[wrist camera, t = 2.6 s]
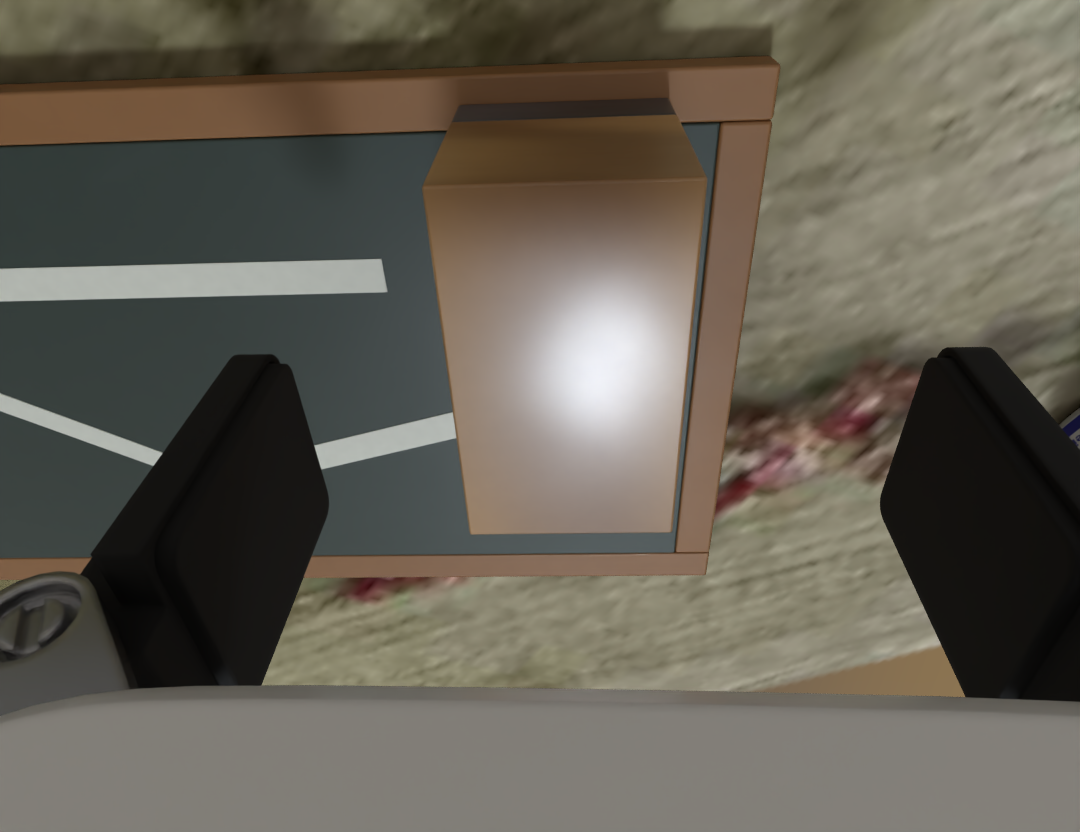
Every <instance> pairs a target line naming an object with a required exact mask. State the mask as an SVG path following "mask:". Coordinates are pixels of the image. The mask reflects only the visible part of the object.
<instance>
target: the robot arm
mask: <svg viewBox="0 0 1080 832" xmlns="http://www.w3.org/2000/svg"><path fill="white" fill-rule="evenodd" d="M328 510H329V495H328V491H327V487H326V484H325V480H324V477H323V474H322V470H321V467H320V463H319V460H318V457H317V453H316V450H315V446H314V443H313V440H312V436H311V433H310V429H309V426H308V423H307V419H306V416H305V412H304V409H303V406H302V402H301V399H300V395H299V392H298V389H297V385H296V382H295V378H294V375H293V372H292V369H291V368H290V366H289V365H288V364H280V361H279V360H278V358H277V357H276V356H275V355H273V354H239V355H234V356H232V357H231V358H230V360H229V361H228V362H227V364H226V365H225V367H224V368H223V369H222V371H221V372H220V374H219V375H218V376H217V378H216V379H215V381H214V382H213V383H212V385H211V386H210V388H209V389H208V390H207V392H206V393H205V395H204V396H203V397H202V399H201V400H200V402H199V403H198V404H197V406H196V407H195V409H194V410H193V411H192V413H191V414H190V416H189V417H188V418H187V420H186V421H185V423H184V424H183V425H182V427H181V428H180V430H179V431H178V432H177V434H176V435H175V437H174V438H173V439H172V441H171V442H170V444H169V445H168V446H167V448H166V449H165V451H164V452H163V453H162V455H161V456H160V458H159V459H158V460H157V462H156V463H155V465H154V466H153V467H152V469H151V470H150V472H149V473H148V474H147V476H146V477H145V478H144V480H143V481H142V483H141V484H140V485H139V487H138V488H137V490H136V491H135V492H134V494H133V495H132V497H131V498H130V499H129V501H128V502H127V504H126V505H125V506H124V508H123V509H122V511H121V512H120V513H119V515H118V516H117V518H116V519H115V520H114V522H113V523H112V525H111V526H110V527H109V529H108V530H107V532H106V533H105V534H104V536H103V537H102V539H101V540H100V541H99V543H98V544H97V546H96V547H95V548H94V550H93V551H92V553H91V554H90V555H91V556H92V558H91V560H90V561H89V562H88V564H87V565H86V567H85V568H84V569H83V571H82V572H81V574H78V573H75V572H65V571H55V572H49V573H43V574H38V575H35V576H32V577H29V578H26V579H23V580H21V581H18V582H16V583H14V584H12V585H10V586H8V587H7V588H5V589H3V590H1V591H0V832H1080V449H1079V448H1078V447H1077V446H1076V444H1075V443H1074V442H1073V441H1072V440H1071V439H1070V438H1069V436H1068V435H1067V434H1066V433H1065V432H1064V431H1063V429H1062V428H1061V427H1060V426H1059V425H1058V424H1057V422H1056V421H1055V420H1054V419H1053V418H1052V417H1051V415H1050V414H1049V413H1048V412H1047V411H1046V410H1045V408H1044V407H1043V406H1042V405H1041V404H1040V403H1039V401H1038V400H1037V399H1036V398H1035V397H1034V396H1033V395H1032V393H1031V392H1030V391H1029V390H1028V389H1027V388H1026V386H1025V385H1024V384H1023V383H1022V382H1021V381H1020V379H1019V378H1018V377H1017V376H1016V375H1015V374H1014V372H1013V371H1012V370H1011V369H1010V368H1009V367H1008V365H1007V364H1006V363H1005V362H1004V361H1003V360H1002V358H1001V357H1000V356H999V355H998V354H997V353H996V352H995V351H994V350H993V349H992V348H988V347H952V348H945V349H943V350H942V351H941V352H940V353H939V354H938V357H937V358H930V359H928V361H927V362H926V363H925V365H924V368H923V371H922V374H921V377H920V380H919V383H918V386H917V389H916V392H915V395H914V398H913V401H912V404H911V406H910V409H909V412H908V415H907V418H906V421H905V424H904V427H903V430H902V433H901V436H900V439H899V442H898V445H897V448H896V451H895V454H894V457H893V460H892V463H891V466H890V469H889V472H888V475H887V478H886V481H885V484H884V487H883V490H882V493H881V498H880V510H881V515H882V518H883V520H884V523H885V525H886V527H887V529H888V531H889V533H890V535H891V538H892V540H893V542H894V544H895V546H896V548H897V550H898V553H899V555H900V557H901V559H902V561H903V563H904V566H905V568H906V570H907V572H908V574H909V576H910V578H911V581H912V583H913V585H914V587H915V589H916V591H917V593H918V596H919V598H920V600H921V602H922V604H923V606H924V609H925V611H926V613H927V615H928V617H929V619H930V621H931V624H932V626H933V628H934V630H935V632H936V634H937V636H938V639H939V641H940V643H941V645H942V647H943V649H944V651H945V654H946V656H947V658H948V660H949V662H950V664H951V666H952V669H953V671H954V673H955V675H956V677H957V679H958V681H959V683H960V686H961V688H962V690H963V692H964V694H965V697H941V696H898V695H854V694H811V693H810V694H809V693H767V692H720V691H666V690H611V689H551V688H488V687H407V686H327V685H280V686H261V685H262V682H263V680H264V677H265V675H266V672H267V669H268V667H269V664H270V662H271V659H272V657H273V654H274V652H275V649H276V646H277V644H278V641H279V639H280V636H281V634H282V631H283V628H284V626H285V623H286V621H287V618H288V616H289V613H290V611H291V608H292V605H293V603H294V600H295V598H296V595H297V593H298V590H299V587H300V585H301V582H302V580H303V577H304V575H305V572H306V570H307V567H308V564H309V562H310V559H311V557H312V554H313V552H314V549H315V547H316V544H317V541H318V539H319V536H320V534H321V531H322V529H323V526H324V523H325V521H326V518H327V515H328Z"/></svg>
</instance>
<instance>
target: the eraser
mask: <svg viewBox="0 0 1080 832" xmlns="http://www.w3.org/2000/svg"><path fill="white" fill-rule="evenodd" d="M706 189H707V177H706V175H705V173H704V171H703V168H702V166H701V164H700V162H699V160H698V158H697V156H696V154H695V152H694V149H693V147H692V145H691V143H690V141H689V139H688V137H687V135H686V133H685V131H684V128H683V126H682V124H681V122H680V120H679V118H678V116H677V115H676V113H675V110H674V108H673V106H672V104H671V102H670V100H669V99H668V98H645V99H617V100H589V101H560V102H532V103H503V104H475V105H460V106H459V107H458V109H457V111H456V113H455V115H454V118H453V120H452V122H451V123H450V126H449V128H448V130H447V132H446V135H445V137H444V139H443V141H442V143H441V146H440V148H439V150H438V152H437V155H436V157H435V159H434V161H433V163H432V166H431V168H430V170H429V172H428V175H427V177H426V179H425V181H424V183H423V186H422V194H423V201H424V208H425V215H426V222H427V230H428V237H429V244H430V251H431V258H432V266H433V273H434V280H435V287H436V295H437V302H438V309H439V316H440V323H441V331H442V338H443V345H444V352H445V360H446V367H447V374H448V381H449V388H450V396H451V403H452V410H453V417H454V424H455V432H456V439H457V446H458V453H459V461H460V468H461V475H462V482H463V489H464V497H465V504H466V511H467V518H468V526H469V532H470V534H472V535H474V534H583V533H670V532H672V529H673V519H674V509H675V499H676V489H677V479H678V469H679V459H680V449H681V439H682V429H683V419H684V409H685V399H686V389H687V379H688V369H689V359H690V349H691V339H692V329H693V319H694V309H695V299H696V289H697V279H698V269H699V259H700V249H701V239H702V229H703V219H704V209H705V199H706Z"/></svg>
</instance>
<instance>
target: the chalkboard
mask: <svg viewBox="0 0 1080 832" xmlns="http://www.w3.org/2000/svg"><path fill="white" fill-rule="evenodd" d="M779 73H780V64H779V63H778V62H777V61H775V60H774V59H773V58H772V57H770V56H750V57H723V58H697V59H670V60H643V61H616V62H590V63H563V64H536V65H509V66H483V67H456V68H429V69H403V70H376V71H349V72H322V73H296V74H269V75H242V76H215V77H189V78H162V79H135V80H109V81H82V82H55V83H28V84H2V85H0V580H23V579H26V578H29V577H32V576H35V575H38V574H43V573H49V572H55V571H65V572H75V573H78V574H81V572H82V571H83V569H84V568H85V567H86V565H87V564H88V562H89V561H90V560H91V558H92V556H91V555H90V554H91V553H92V551H93V550H94V548H95V547H96V546H97V544H98V543H99V541H100V540H101V539H102V537H103V536H104V534H105V533H106V532H107V530H108V529H109V527H110V526H111V525H112V523H113V522H114V520H115V519H116V518H117V516H118V515H119V513H120V512H121V511H122V509H123V508H124V506H125V505H126V504H127V502H128V501H129V499H130V498H131V497H132V495H133V494H134V492H135V491H136V490H137V488H138V487H139V485H140V484H141V483H142V481H143V480H144V478H145V477H146V476H147V474H148V473H149V472H150V470H151V469H152V467H153V466H154V465H155V463H156V462H157V460H158V459H159V458H160V456H161V455H162V453H163V452H164V451H165V449H166V448H167V446H168V445H169V444H170V442H171V441H172V439H173V438H174V437H175V435H176V434H177V432H178V431H179V430H180V428H181V427H182V425H183V424H184V423H185V421H186V420H187V418H188V417H189V416H190V414H191V413H192V411H193V410H194V409H195V407H196V406H197V404H198V403H199V402H200V400H201V399H202V397H203V396H204V395H205V393H206V392H207V390H208V389H209V388H210V386H211V385H212V383H213V382H214V381H215V379H216V378H217V376H218V375H219V374H220V372H221V371H222V369H223V368H224V367H225V365H226V364H227V362H228V361H229V360H230V358H231V357H232V356H234V355H239V354H273V355H275V356H276V357H277V358H278V360H279V361H280V364H288V365H289V366H290V368H291V369H292V372H293V375H294V378H295V382H296V385H297V389H298V392H299V395H300V399H301V402H302V406H303V409H304V412H305V416H306V419H307V423H308V426H309V429H310V433H311V436H312V440H313V443H314V446H315V450H316V453H317V457H318V460H319V463H320V467H321V470H322V474H323V477H324V480H325V484H326V487H327V491H328V495H329V510H328V515H327V518H326V521H325V523H324V526H323V529H322V531H321V534H320V536H319V539H318V541H317V544H316V547H315V549H314V552H313V554H312V557H311V559H310V562H309V564H308V567H307V570H306V572H305V575H304V577H303V578H341V577H491V576H641V575H705V574H706V570H707V563H708V556H709V549H710V542H711V535H712V528H713V522H714V515H715V508H716V501H717V494H718V488H719V481H720V474H721V467H722V460H723V454H724V447H725V440H726V433H727V426H728V420H729V413H730V406H731V399H732V392H733V386H734V379H735V372H736V365H737V358H738V352H739V345H740V338H741V331H742V324H743V318H744V311H745V304H746V297H747V290H748V284H749V277H750V270H751V263H752V257H753V250H754V243H755V236H756V229H757V223H758V216H759V209H760V202H761V195H762V189H763V182H764V175H765V168H766V161H767V155H768V148H769V141H770V134H771V127H772V122H771V120H770V119H772V117H773V114H774V107H775V100H776V94H777V87H778V80H779ZM645 98H668V99H669V100H670V102H671V104H672V106H673V108H674V110H675V113H676V115H677V116H678V118H679V120H680V122H681V124H682V126H683V128H684V131H685V133H686V135H687V137H688V139H689V141H690V143H691V145H692V147H693V149H694V152H695V154H696V156H697V158H698V160H699V162H700V164H701V166H702V168H703V171H704V173H705V175H706V177H707V189H706V199H705V209H704V219H703V229H702V239H701V249H700V259H699V269H698V279H697V289H696V299H695V309H694V319H693V329H692V339H691V349H690V359H689V369H688V379H687V389H686V399H685V409H684V419H683V429H682V439H681V449H680V459H679V469H678V479H677V489H676V499H675V509H674V519H673V529H672V532H670V533H583V534H474V535H472V534H470V532H469V526H468V518H467V511H466V504H465V497H464V489H463V482H462V475H461V468H460V461H459V453H458V446H457V439H456V432H455V424H454V417H453V410H452V403H451V396H450V388H449V381H448V374H447V367H446V360H445V352H444V345H443V338H442V331H441V323H440V316H439V309H438V302H437V295H436V287H435V280H434V273H433V266H432V258H431V251H430V244H429V237H428V230H427V222H426V215H425V208H424V201H423V194H422V186H423V183H424V181H425V179H426V177H427V175H428V172H429V170H430V168H431V166H432V163H433V161H434V159H435V157H436V155H437V152H438V150H439V148H440V146H441V143H442V141H443V139H444V137H445V135H446V132H447V130H448V128H449V126H450V123H451V122H452V120H453V118H454V115H455V113H456V111H457V109H458V107H459V106H460V105H475V104H503V103H532V102H560V101H589V100H617V99H645Z"/></svg>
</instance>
